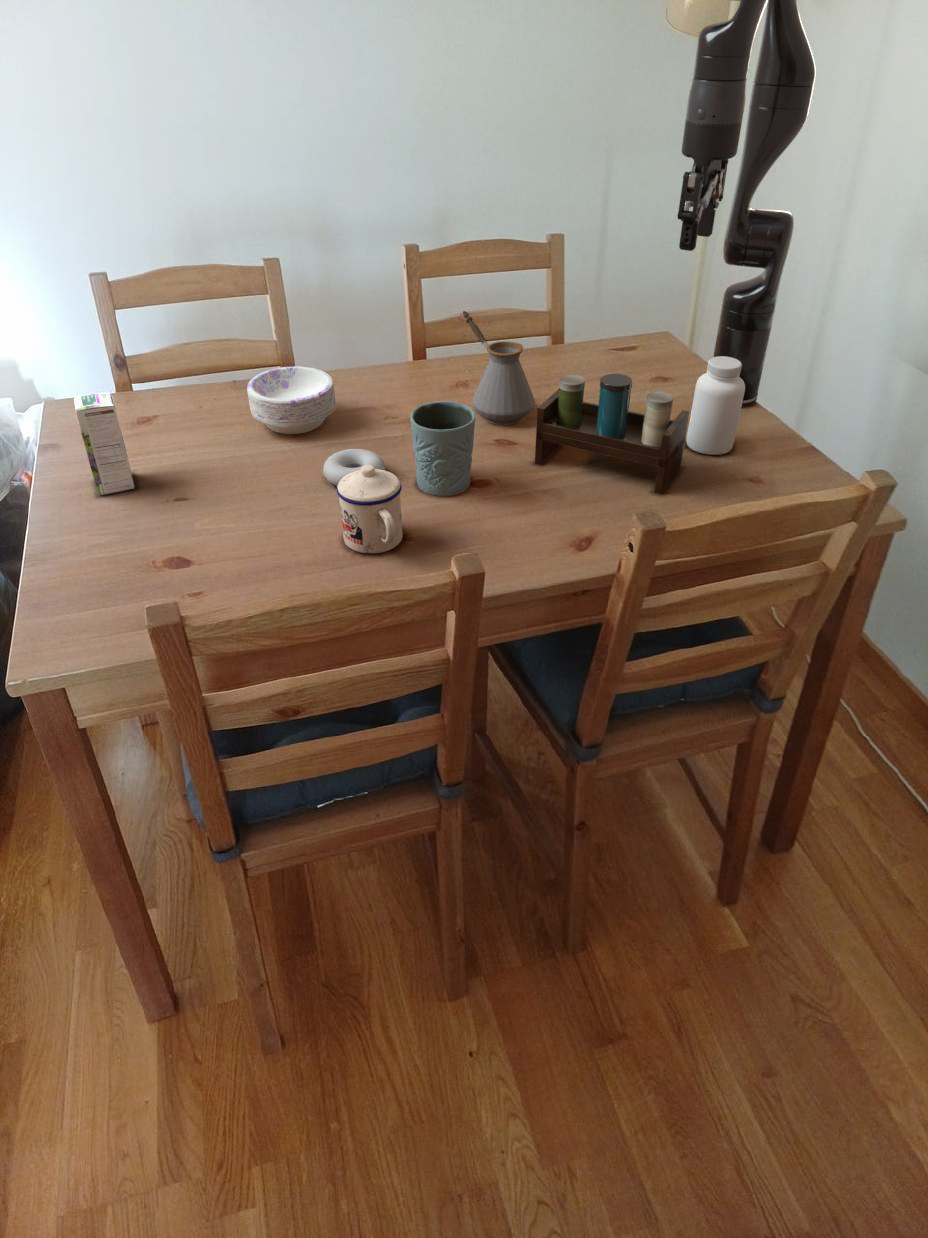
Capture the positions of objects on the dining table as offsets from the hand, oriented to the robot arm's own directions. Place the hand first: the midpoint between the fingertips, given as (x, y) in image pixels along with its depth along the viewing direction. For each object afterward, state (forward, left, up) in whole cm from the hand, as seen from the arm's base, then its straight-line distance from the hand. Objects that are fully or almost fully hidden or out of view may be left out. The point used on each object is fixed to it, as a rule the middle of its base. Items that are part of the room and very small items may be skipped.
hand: (695, 242), depth 129 cm
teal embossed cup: (+27, -28, -34) cm, 52 cm away
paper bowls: (+20, -63, -34) cm, 74 cm away
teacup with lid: (+47, -28, -34) cm, 65 cm away
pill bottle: (-6, +6, -34) cm, 35 cm away
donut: (+32, -42, -34) cm, 63 cm away
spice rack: (+9, -7, -34) cm, 36 cm away
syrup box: (+52, -75, -34) cm, 98 cm away
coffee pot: (-3, -35, -34) cm, 49 cm away
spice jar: (+9, -7, -28) cm, 30 cm away
